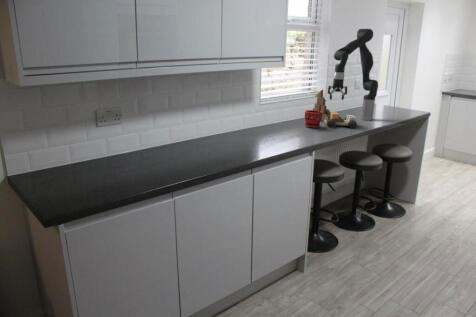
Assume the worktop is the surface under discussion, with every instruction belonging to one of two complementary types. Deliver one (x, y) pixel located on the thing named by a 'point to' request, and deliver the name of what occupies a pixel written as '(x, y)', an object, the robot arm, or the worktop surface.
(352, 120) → the car chassis
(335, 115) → the engine block
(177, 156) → the worktop surface
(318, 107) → the wooden toy
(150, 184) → the worktop surface
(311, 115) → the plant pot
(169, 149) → the worktop surface
